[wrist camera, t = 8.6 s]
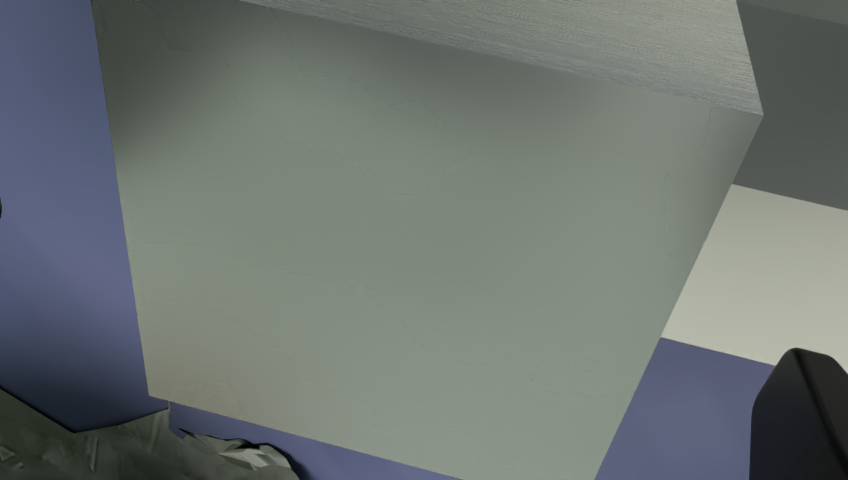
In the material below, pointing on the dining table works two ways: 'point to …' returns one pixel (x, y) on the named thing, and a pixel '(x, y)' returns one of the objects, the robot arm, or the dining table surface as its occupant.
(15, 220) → the dining table surface
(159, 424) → the rose bouquet
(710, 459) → the dining table surface
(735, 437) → the dining table surface
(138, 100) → the brushed grey cube
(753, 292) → the board
